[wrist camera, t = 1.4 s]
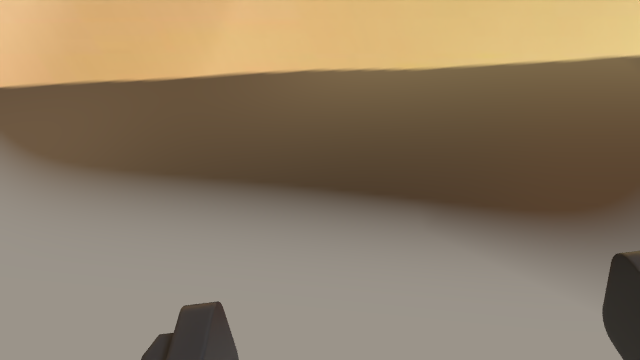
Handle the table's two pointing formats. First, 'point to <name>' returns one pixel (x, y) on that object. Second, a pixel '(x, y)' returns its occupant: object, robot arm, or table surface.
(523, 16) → the table surface
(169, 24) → the table surface
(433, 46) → the table surface
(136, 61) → the table surface
